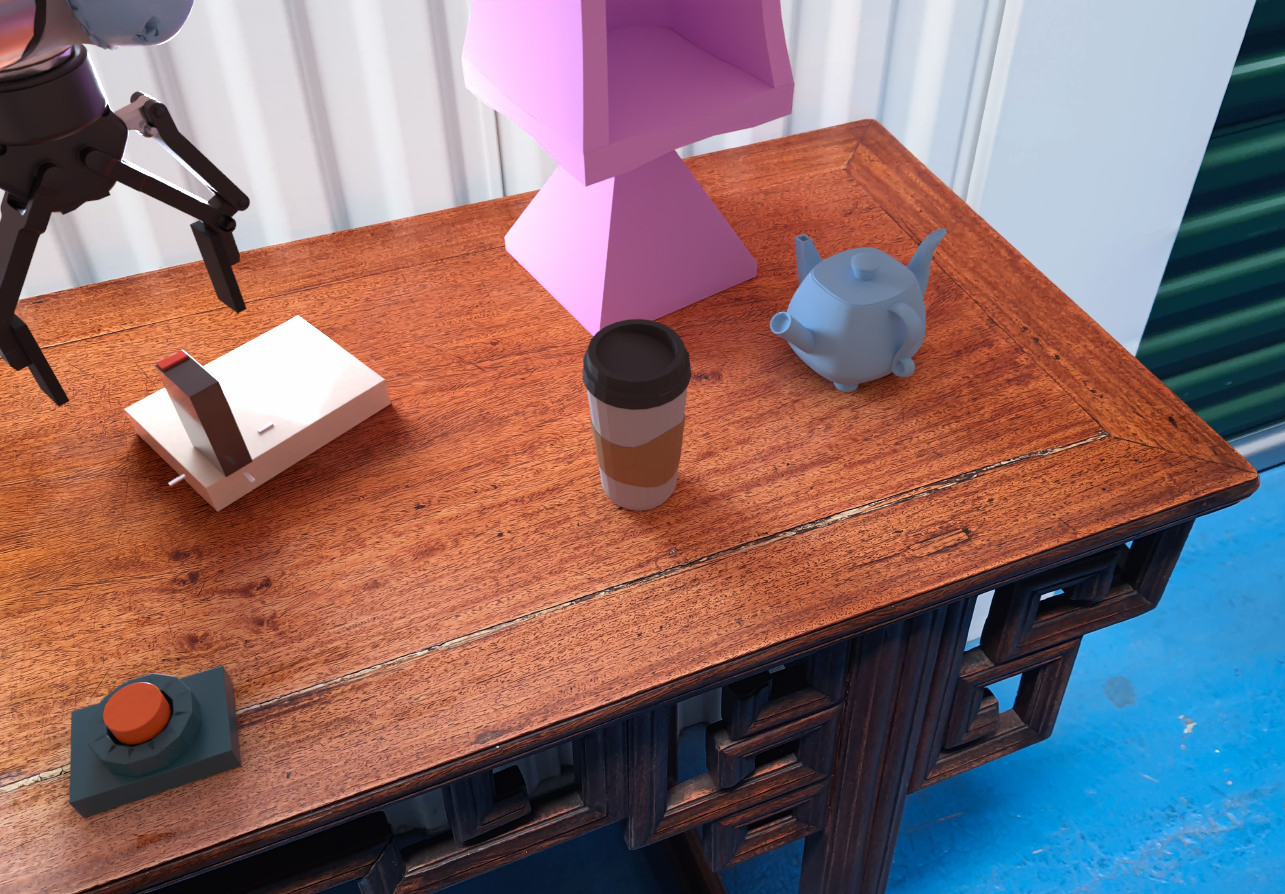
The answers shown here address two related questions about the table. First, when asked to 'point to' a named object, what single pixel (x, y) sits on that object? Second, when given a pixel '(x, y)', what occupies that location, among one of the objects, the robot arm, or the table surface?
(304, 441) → the switch panel
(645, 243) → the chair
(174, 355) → the dark slab
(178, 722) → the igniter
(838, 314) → the teapot
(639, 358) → the coffee cup
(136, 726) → the button
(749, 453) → the table surface
